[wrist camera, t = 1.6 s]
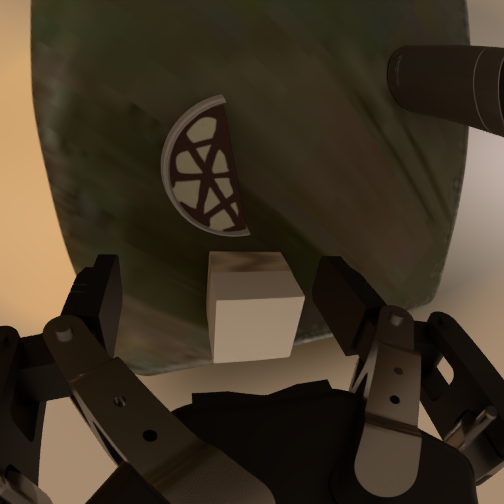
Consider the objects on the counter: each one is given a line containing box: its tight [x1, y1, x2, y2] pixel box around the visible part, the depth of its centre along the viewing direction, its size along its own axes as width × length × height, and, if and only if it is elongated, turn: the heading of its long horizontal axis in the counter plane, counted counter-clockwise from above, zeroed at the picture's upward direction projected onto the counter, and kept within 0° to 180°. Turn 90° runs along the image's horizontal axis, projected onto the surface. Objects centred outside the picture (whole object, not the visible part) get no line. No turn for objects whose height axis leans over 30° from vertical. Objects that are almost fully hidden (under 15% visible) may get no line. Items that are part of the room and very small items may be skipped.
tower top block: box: [209, 271, 305, 363], centre depth 35 cm, size 9×9×5 cm
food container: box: [161, 94, 250, 236], centre depth 28 cm, size 12×6×10 cm, turn 9°
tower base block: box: [206, 251, 292, 326], centre depth 39 cm, size 9×9×5 cm
